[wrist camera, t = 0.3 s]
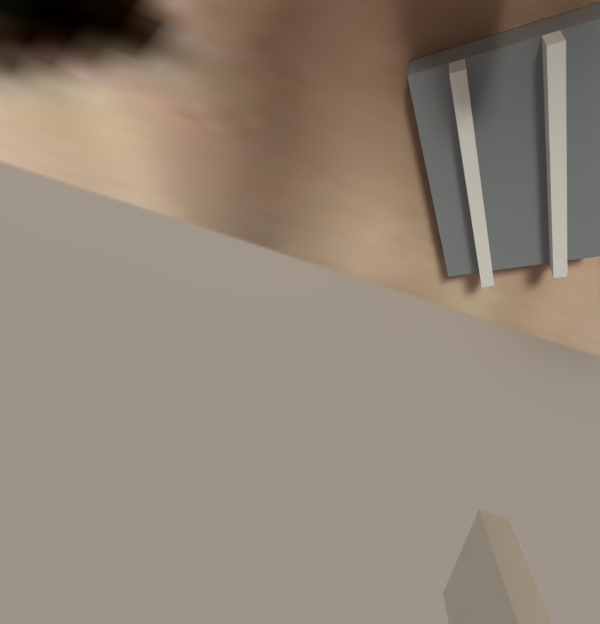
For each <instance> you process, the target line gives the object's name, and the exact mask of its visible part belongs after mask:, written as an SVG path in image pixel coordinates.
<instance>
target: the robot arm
mask: <svg viewBox="0 0 600 624" xmlns="http://www.w3.org/2000/svg"><path fill="white" fill-rule="evenodd" d="M443 596H444V601H445V606H446V611H447V616H448V622H449V624H554V623H553V621H552V619H551V616H550V614H549V612H548V609H547V607H546V605H545V602H544V600H543V598H542V595H541V593H540V591H539V588H538V586H537V584H536V581H535V579H534V576H533V574H532V572H531V569H530V567H529V565H528V562H527V560H526V558H525V555H524V553H523V551H522V549H521V546H520V543H519V541H518V539H517V536H516V534H515V532H514V529H513V527H512V525H511V522H510V520H509V518H506V517H503V516H499V515H496V514H493V513H489V512H486V511H482V510H478V512H477V515H476V517H475V519H474V522H473V524H472V526H471V529H470V531H469V533H468V536H467V538H466V540H465V543H464V545H463V548H462V550H461V552H460V555H459V557H458V559H457V562H456V564H455V566H454V568H453V571H452V573H451V576H450V578H449V580H448V583H447V585H446V587H445V590H444V592H443Z"/></svg>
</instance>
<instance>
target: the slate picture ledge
mask: <svg viewBox="0 0 600 624" xmlns="http://www.w3.org/2000/svg"><path fill="white" fill-rule="evenodd" d="M407 78H408V83H409V88H410V92H411V97H412V102H413V107H414V112H415V117H416V122H417V126H418V131H419V136H420V141H421V146H422V151H423V156H424V161H425V165H426V170H427V175H428V180H429V185H430V190H431V195H432V200H433V204H434V209H435V214H436V219H437V224H438V229H439V234H440V239H441V243H442V248H443V253H444V258H445V263H446V268H447V273H448V277H449V276H457V275H464V274H472V273H480V279H481V286H482V287H487V286H494V279H493V271H494V270H501V269H509V268H516V267H523V266H531V265H538V264H545V263H550V266H551V270H552V274H553V278H560V277H567V261H568V260H575V259H582V258H590V257H597V256H600V2H598V3H595V4H592V5H589V6H586V7H582V8H579V9H576V10H573V11H569V12H566V13H563V14H560V15H556V16H553V17H550V18H547V19H544V20H540V21H537V22H534V23H531V24H527V25H524V26H521V27H518V28H514V29H511V30H508V31H505V32H502V33H498V34H495V35H492V36H489V37H485V38H482V39H479V40H476V41H473V42H469V43H466V44H463V45H460V46H456V47H453V48H450V49H447V50H443V51H440V52H437V53H434V54H431V55H427V56H424V57H421V58H418V59H414V60H411V61H409V66H408V73H407Z"/></svg>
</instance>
